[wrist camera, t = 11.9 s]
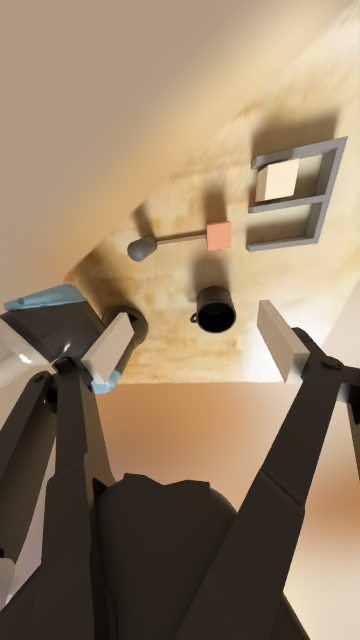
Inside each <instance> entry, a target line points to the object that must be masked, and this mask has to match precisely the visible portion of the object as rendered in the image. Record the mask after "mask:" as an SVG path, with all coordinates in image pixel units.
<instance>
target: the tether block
mask: <svg viewBox="0 0 360 640" xmlns="http://www.w3.org/2000/svg"><path fill="white" fill-rule="evenodd" d="M206 228H207V234H202V235H195V236H189V237H182V238H176V239H169V240H163V241H157V240H156V239H155V238H154V237H153V236H146V237H144V238H141V239H139V240H136V241H134V242H132V243H130V244H129V245H128V249H127V251H128V255H129V257H130V258H131V259H132V260H134V261H142V260H143V259H144V258H146V257H147V256H148V255H150V254H151V253H152V252H154V251H155V250H156V249H157V245H160V244H167V243H173V242H180V241H187V240H194V239H201V238H207V246H208V251H210V250H217V249H225V248H231V222H230V221H223V222H217V223H211V224H206Z"/></svg>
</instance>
